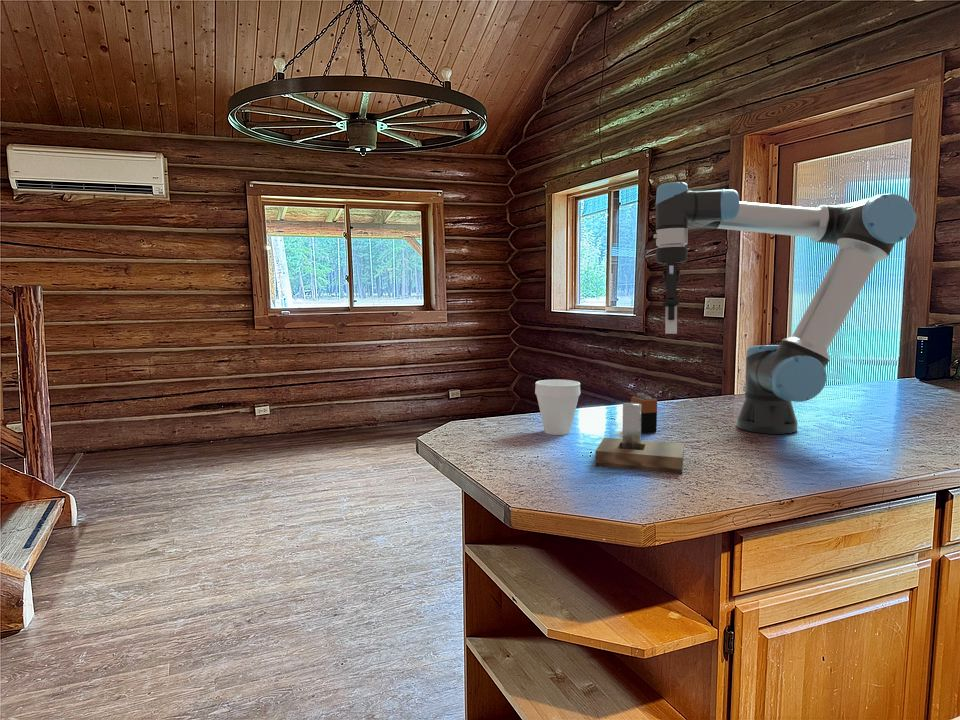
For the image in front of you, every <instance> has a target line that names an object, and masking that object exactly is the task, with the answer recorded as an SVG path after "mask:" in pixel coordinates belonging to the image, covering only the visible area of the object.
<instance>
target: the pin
mask: <svg viewBox="0 0 960 720" xmlns="http://www.w3.org/2000/svg"><path fill="white" fill-rule="evenodd" d="M621 437H622V438H621V439H622V449H633V450H641V440H642V433H641V404H639V403H631V402H625V403H622V436H621Z"/></svg>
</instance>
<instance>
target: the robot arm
mask: <svg viewBox="0 0 960 720" xmlns="http://www.w3.org/2000/svg"><path fill="white" fill-rule="evenodd" d="M655 198H656V199H655V232H656V233H655V234H653V239H655V243H656V244H655V246H657V247H658V248H656V250H655V263H657V264H662V265H663V264H666V265H665V270H663V271H662V275H663V276H662V277H663V285H664V287H665V302H662V307H663V308H665V311H664V313H665V315H664V316H665V317H664V318H665V321H664V322H665V325H664V326H665V327H664V328H665V329H664V332H665V333H664V334H665V335H667V334H668V335H669V334H670V335H671V334H675V335H678V306H679V305H680V300H677V293H678V292H677V291H678V290H677V287H678V286H679V283H680V282H679V281H680V280H679V278H680V277H681V276H680V275H681V274H680V272H681V271H680V269H678V265H677V264H680V263H682V264H683V263H686V262H687V261H688V248H687V246H686V245H688V244H689V243H688V242H689V241H688V231H689V229H688V228H690V229H699V228H704V229H705V228H707V229H717V230H719V229H720V230H731V231H740V232H751V233H759V234H760V233H762V234H771V235H782V236H793V237H804V238H810V239H811V241H812V242H815V243H824V244H830V245H837V246H838V248H839V250H838V252H837V254H836V256H835V257H834V259H833V261H832V263H831V264H830V266H829V268H828V270H827V272H826V274H825V275H824V278H823V279H822V281H821V283H820V285H818V286H819V287H818V288H817V290H816V292H815V294H814V295H813V297H812V299H811V301H810V303H809V305H808V306H807V308H806V310H805V312H804V313H803V315H802V317H801V319H800V321H799V323H798V324H797V326H796V328H795V329H794V331H793V334H792V335H791V336H789V337H786V338H783V339H782V340H781V342H780V344H772V345H771V344H767V345H764V344H763V345H751V346H749V347H748V349H747V350H746V356H745V381H744V382H745V385H744V386H745V387H744V400H743V403H742V406H741V408H740V411H739V413H738V416H737V418H736V427H737V428H738V429H740V430H743V431H748V432H752V433H757V434H759V433H760V434H769V435H786V434H785V433H790V434H793V433H792V432H795V431H797V432H798V426H799V425H798V419H797V416H796V414H795V409H794V407H793V404H792V402H795V403H800V402H801V403H802V402H807V401H810V400H812V399H813V398H816V397H817V396H818V395H819V394H821V392H822V391H823V390H824V388H825V385H826V383H827V380H828V379H827V377H828V376H827V373H826V367H827V365H828V364H829V363H830V360H831V358H830V355H829V353H828V351H829V348H830V346H831V344H832V343H833V340H834V339H835V337H836V335H837V333H838V332H839V330H840V329H841V326H842V325H843V323H844V322H845V319H846V318H847V317H848V315H849V313H850V311H851V309H852V307H853V305H854V303H855V302H856V300H857V298H858V296H859V294H860V293H861V291H862V289H863V287H864V286H865V284H866V282H867V280H868V279H869V277H870V275H871V273H872V272H873V269H874V268H875V266H876V264H877V263H879V262H881V261H884V260H887V258H888V257H889V256H890V253H891V252H892V250H893V248H894V247H895V245H896V243H901V242H902V241H904V240H905V239H907V237H909V236H910V235H911V234H912V232H913V231H914V229H915V226H916V223H917V215H916V211H915V210H914V206H913V205H912V203H911V202H910V201H909V200H908V199H907V198H906V197H904V196H902V195H900V194H897V193H882V194H881V193H880V194H879V193H878V194H876V195H872V196H871V197H868V198H863V199H861V200H857V201H853V202H849V203H843V204H836V205H835V204H832V205H830V204H829V205H828V204H820V205H818V207H807V206H806V207H805V206H797V205H796V206H795V205H783V204H782V205H781V204H772V203H771V204H770V203H762V202H761V203H760V202H751V201H750V202H748V201H740V195H739V192H738V191H737V190H735V189H725V188H722V189H712V190H711V189H710V190H696V191H695V190H689V188H688V184H687V183H686V182H683V181H681V182H680V181H676V182H675V181H673V182H671V181H670V182H666V183H661V184H660V185H659V186H657V187H656V195H655ZM795 433H796V432H795Z"/></svg>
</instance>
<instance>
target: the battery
mask: <svg viewBox="0 0 960 720" xmlns="http://www.w3.org/2000/svg"><path fill="white" fill-rule="evenodd" d="M630 403H639V404H641V434H652V433H653V434H655V433H657V425H658V424H657V423H658V400H657V399H656V398H652V397H651V395H646V394H645V393H643V392H642V393H641V392H640V393H637V395H635V396H631V398H630Z"/></svg>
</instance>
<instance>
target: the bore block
mask: <svg viewBox="0 0 960 720" xmlns="http://www.w3.org/2000/svg"><path fill="white" fill-rule="evenodd" d="M684 447H685V443H684V442H673V441H671V442H670V441H657V440H645V439H643V440H642V439H641V450H633V449H622V438H617V437H603V439H602V440H601V442H600V443H599V445H598V446H597V448H596V449H595V452H594V453H595V456H594V457H595V458H594V459H595V461H594V462H595V464H594V466H595V467H598V468H608V469H620V470H631V471H642V472H643V471H644V472H653V473H665V474H676V475H677V474H678V475H683V471H684V470H683V467H684V457H685V456H684V455H685V454H684V452H685V450H684V449H685V448H684Z"/></svg>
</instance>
